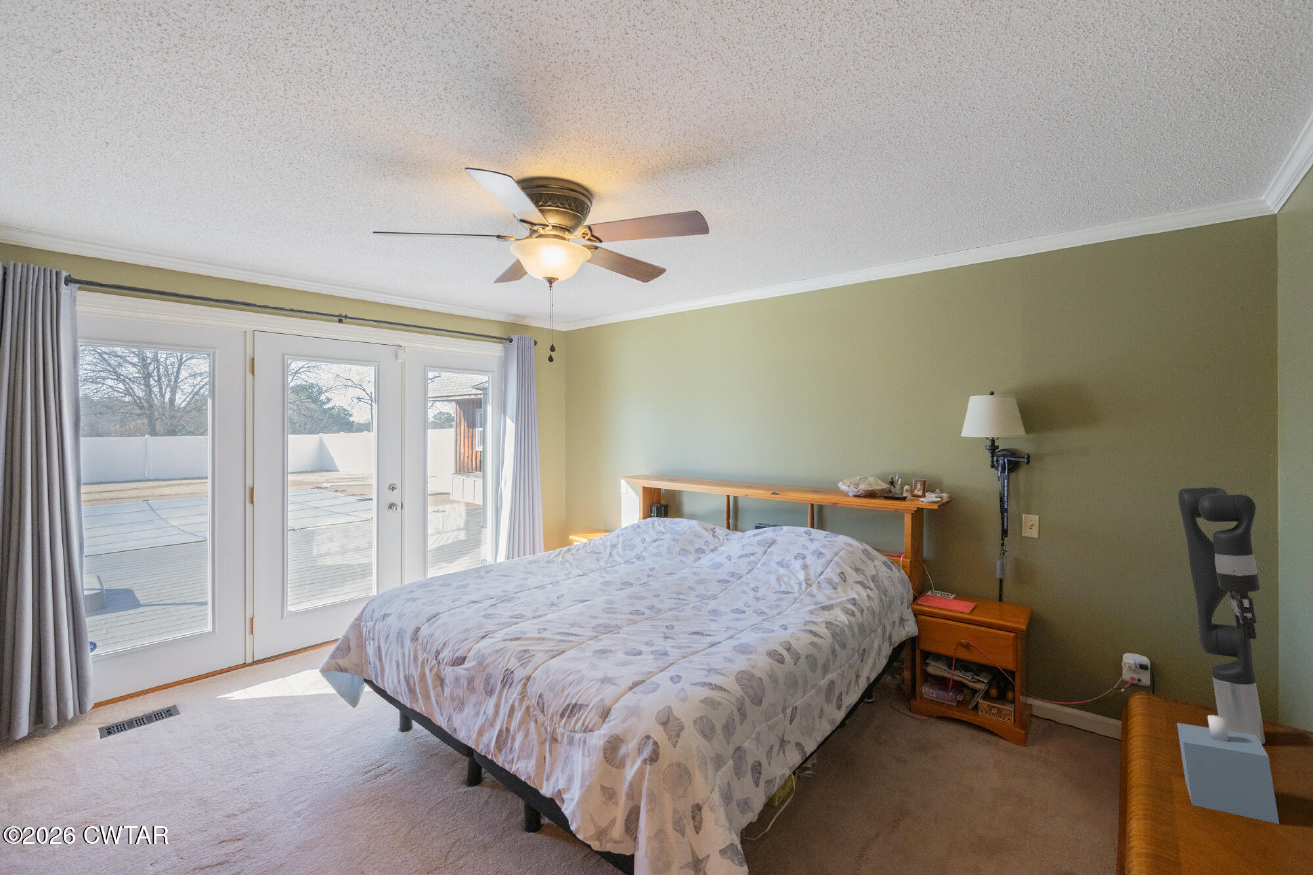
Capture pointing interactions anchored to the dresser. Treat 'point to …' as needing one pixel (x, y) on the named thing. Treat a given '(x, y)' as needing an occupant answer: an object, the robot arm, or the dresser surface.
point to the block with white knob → (1227, 770)
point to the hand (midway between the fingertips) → (1246, 633)
